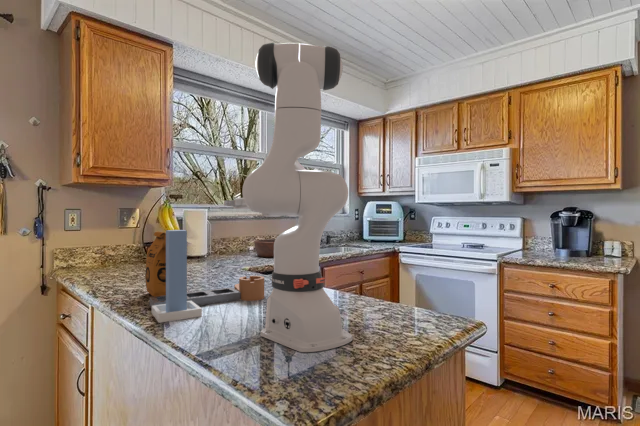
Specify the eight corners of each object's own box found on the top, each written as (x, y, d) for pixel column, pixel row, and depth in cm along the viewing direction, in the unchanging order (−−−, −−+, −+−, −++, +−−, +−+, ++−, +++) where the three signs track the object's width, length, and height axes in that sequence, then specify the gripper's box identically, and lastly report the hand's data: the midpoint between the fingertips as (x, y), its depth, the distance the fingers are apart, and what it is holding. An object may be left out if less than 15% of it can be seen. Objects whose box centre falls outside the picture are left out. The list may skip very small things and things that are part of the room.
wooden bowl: (279, 253, 259) (279, 238, 259) (299, 256, 239) (299, 240, 239) (247, 255, 244) (247, 240, 244) (266, 259, 224) (266, 242, 224)
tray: (201, 316, 100) (201, 308, 100) (158, 322, 94) (158, 314, 94) (191, 307, 109) (191, 300, 109) (151, 313, 103) (151, 305, 103)
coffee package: (148, 300, 119) (148, 232, 119) (143, 293, 129) (143, 231, 129) (180, 296, 124) (180, 232, 124) (173, 289, 135) (173, 230, 135)
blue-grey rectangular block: (186, 313, 101) (186, 230, 101) (169, 315, 99) (169, 231, 99) (182, 309, 105) (182, 229, 105) (165, 311, 102) (165, 230, 102)
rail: (240, 299, 119) (240, 292, 119) (154, 311, 105) (154, 303, 105) (230, 294, 127) (230, 287, 127) (149, 305, 112) (149, 297, 112)
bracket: (267, 299, 120) (267, 279, 120) (241, 302, 117) (241, 280, 117) (255, 289, 136) (255, 271, 136) (232, 291, 133) (232, 272, 133)
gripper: (257, 195, 130) (218, 194, 122) (284, 192, 113) (241, 190, 105) (257, 213, 130) (218, 213, 122) (284, 212, 113) (241, 212, 105)
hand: (229, 202), depth 113 cm, fingers open, 8 cm apart
